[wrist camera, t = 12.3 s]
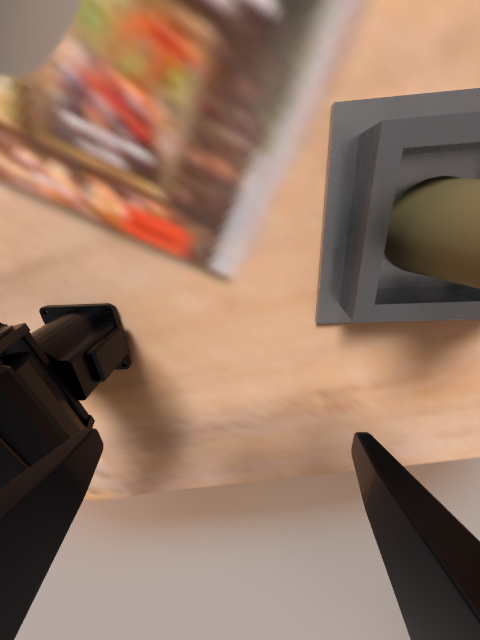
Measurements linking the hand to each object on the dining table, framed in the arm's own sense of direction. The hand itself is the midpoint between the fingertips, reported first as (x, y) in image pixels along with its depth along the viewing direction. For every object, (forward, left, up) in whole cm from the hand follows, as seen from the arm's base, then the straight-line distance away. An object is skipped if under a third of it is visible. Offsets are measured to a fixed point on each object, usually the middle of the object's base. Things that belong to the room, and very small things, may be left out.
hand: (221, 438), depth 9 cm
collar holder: (+13, +5, -13) cm, 19 cm away
